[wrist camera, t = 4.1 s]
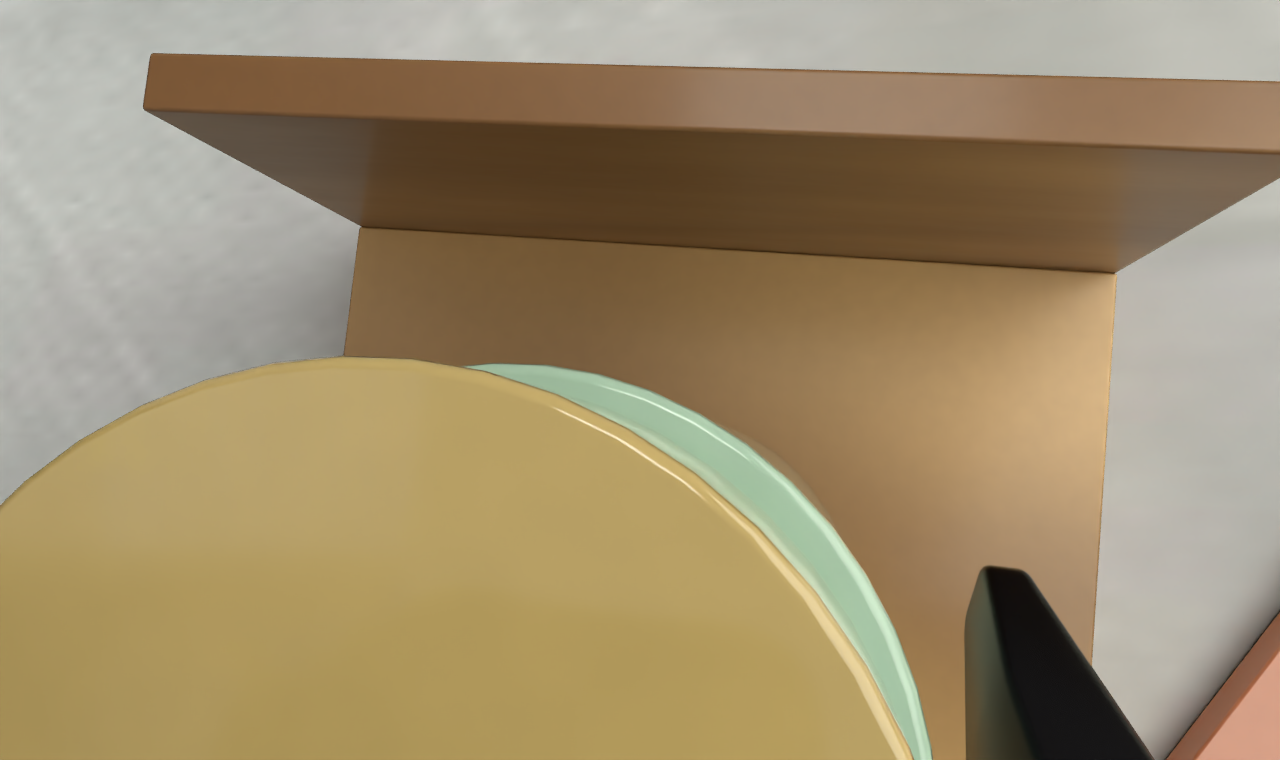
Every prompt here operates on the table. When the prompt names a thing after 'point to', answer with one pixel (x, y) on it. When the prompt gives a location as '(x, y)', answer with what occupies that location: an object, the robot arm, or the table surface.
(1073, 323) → the shelf
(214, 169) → the table surface
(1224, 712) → the trivet
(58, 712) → the jar
